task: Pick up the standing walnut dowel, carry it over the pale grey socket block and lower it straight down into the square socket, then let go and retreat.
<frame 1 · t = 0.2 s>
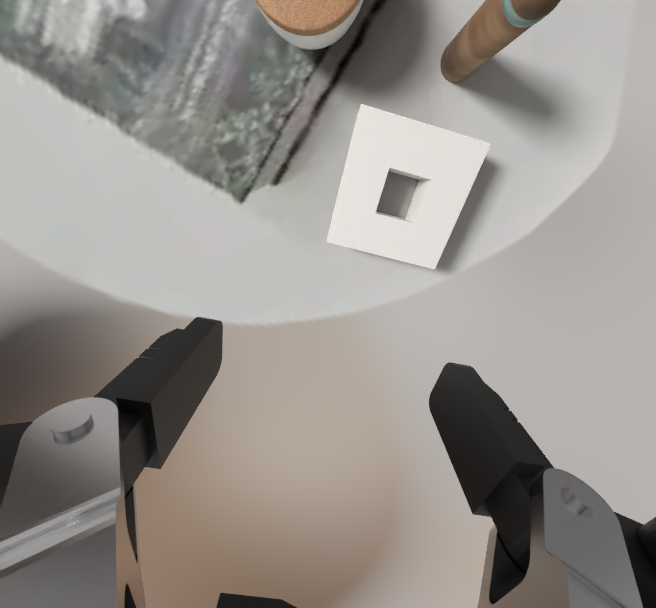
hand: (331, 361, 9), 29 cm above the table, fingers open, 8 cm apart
socket block: (394, 194, 33), on the table
walnut dowel: (458, 60, 27), on the table
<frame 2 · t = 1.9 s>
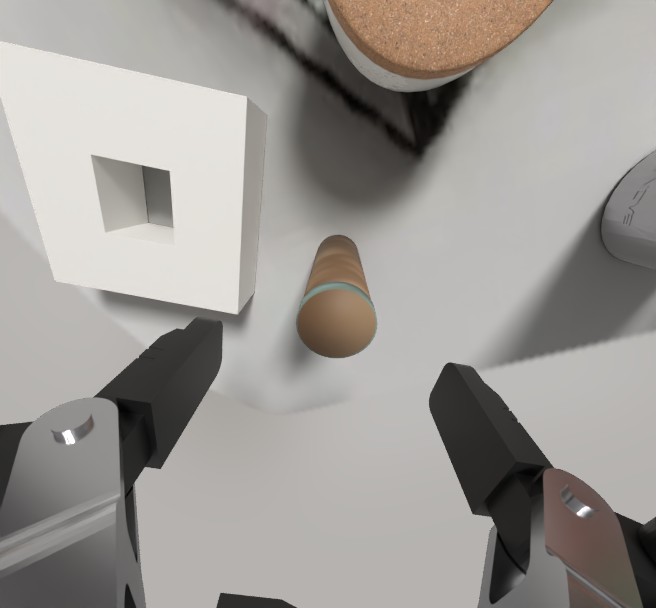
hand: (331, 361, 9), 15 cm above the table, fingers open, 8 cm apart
socket block: (174, 198, 21), on the table
lidded jar: (406, 8, 16), on the table
walnut dowel: (337, 255, 23), on the table
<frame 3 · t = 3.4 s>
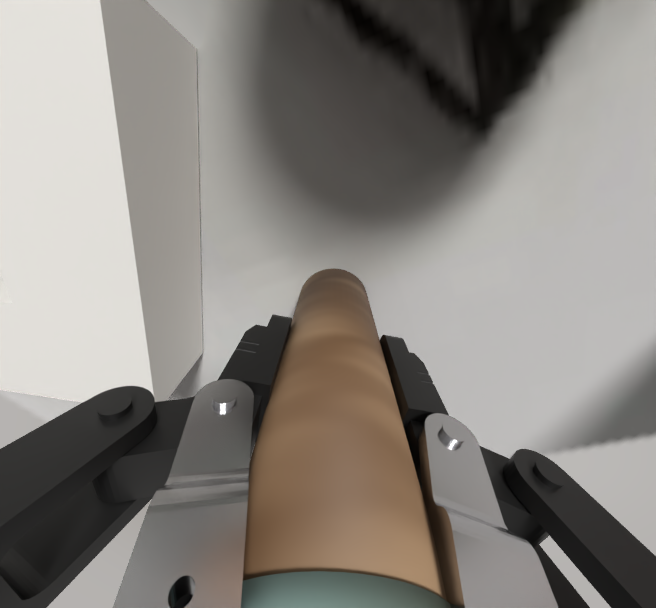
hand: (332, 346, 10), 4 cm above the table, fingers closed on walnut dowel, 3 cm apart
socket block: (49, 207, 12), on the table
walnut dowel: (333, 300, 14), on the table, touching gripper
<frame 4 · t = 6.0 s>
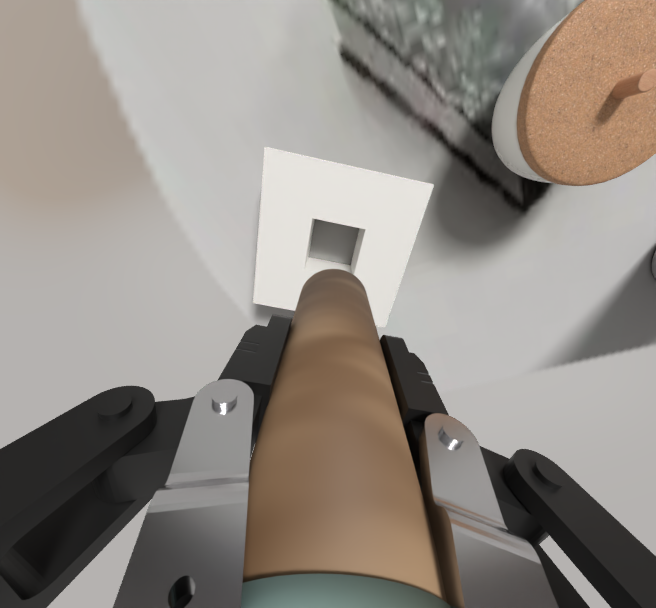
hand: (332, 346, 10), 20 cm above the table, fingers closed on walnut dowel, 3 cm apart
socket block: (333, 239, 28), on the table
lidded jar: (530, 117, 23), on the table
walnut dowel: (333, 300, 14), point 16 cm above the table, touching gripper
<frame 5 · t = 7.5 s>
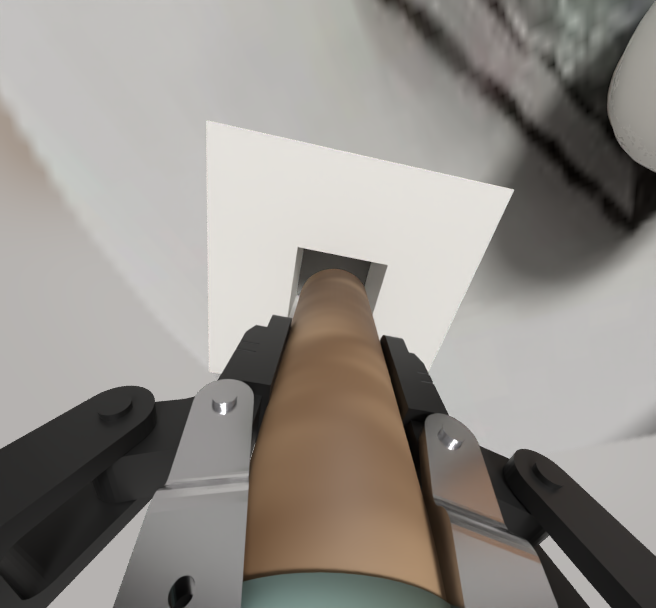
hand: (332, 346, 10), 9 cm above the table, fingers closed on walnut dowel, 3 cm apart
socket block: (334, 271, 18), on the table
walnut dowel: (333, 300, 14), point 5 cm above the table, touching gripper
when the fingers open (6 cm above the table, at t = 8.5 s): walnut dowel drops 1 cm, resting in socket block.
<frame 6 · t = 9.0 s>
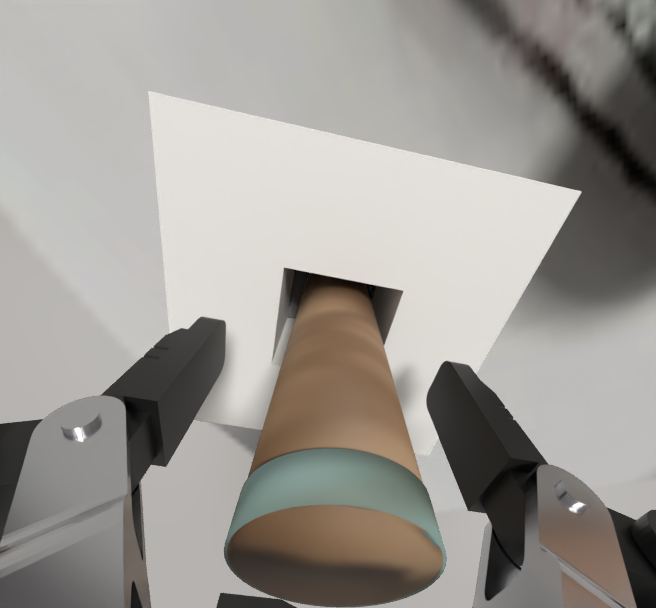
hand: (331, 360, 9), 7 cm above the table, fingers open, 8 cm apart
socket block: (332, 290, 15), on the table
walnut dowel: (335, 290, 15), resting in socket block
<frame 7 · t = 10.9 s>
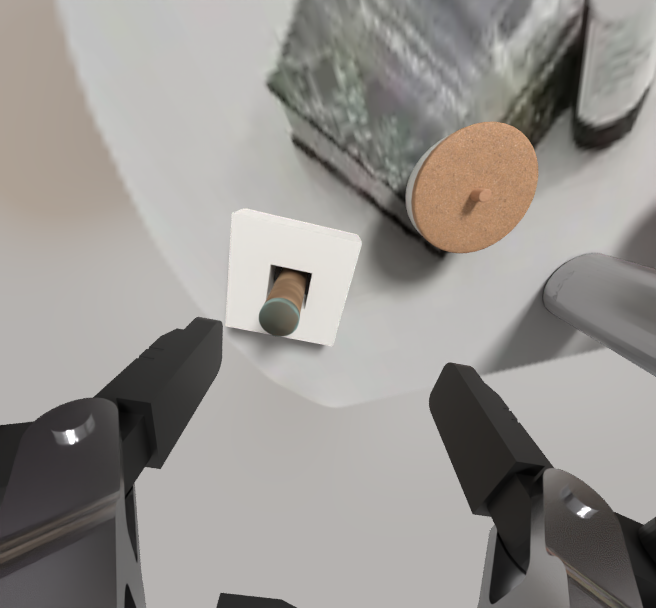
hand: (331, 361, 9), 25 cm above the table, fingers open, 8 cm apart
socket block: (293, 274, 34), on the table
lidded jar: (440, 190, 30), on the table
walnut dowel: (294, 274, 34), resting in socket block
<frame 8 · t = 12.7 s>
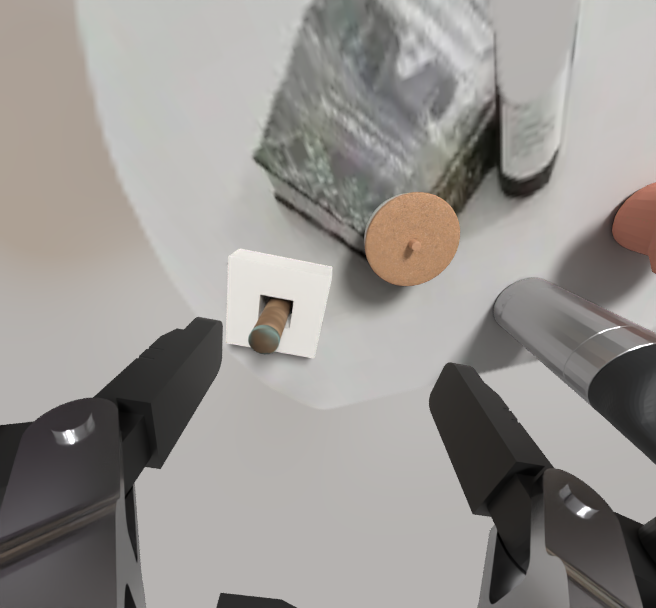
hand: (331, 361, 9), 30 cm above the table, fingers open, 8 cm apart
socket block: (281, 299, 42), on the table
lidded jar: (397, 230, 37), on the table
walnut dowel: (282, 299, 42), resting in socket block
decorative flower: (640, 219, 35), on the table
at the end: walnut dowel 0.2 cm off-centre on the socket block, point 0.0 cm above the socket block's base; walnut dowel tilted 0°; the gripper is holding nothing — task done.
